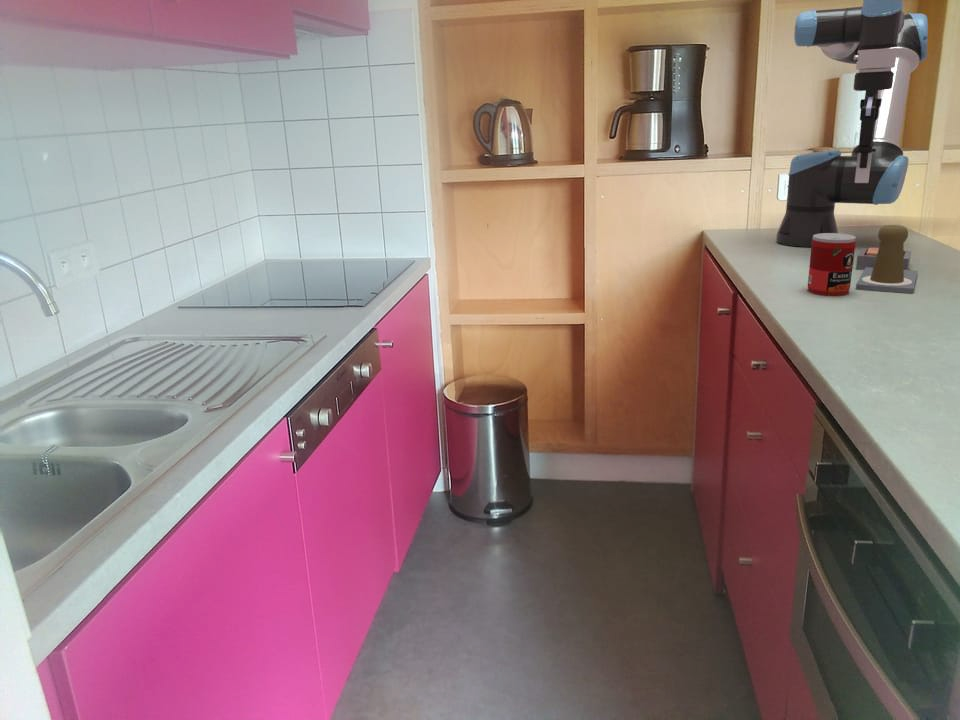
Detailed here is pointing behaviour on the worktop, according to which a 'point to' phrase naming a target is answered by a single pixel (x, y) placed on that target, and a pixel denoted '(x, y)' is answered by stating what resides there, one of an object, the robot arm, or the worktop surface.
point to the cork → (890, 255)
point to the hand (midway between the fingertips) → (861, 182)
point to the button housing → (870, 260)
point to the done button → (872, 252)
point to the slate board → (903, 287)
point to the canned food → (831, 263)
